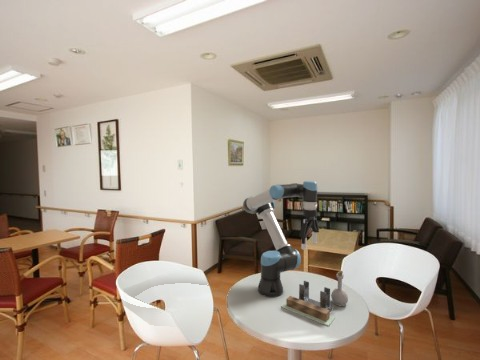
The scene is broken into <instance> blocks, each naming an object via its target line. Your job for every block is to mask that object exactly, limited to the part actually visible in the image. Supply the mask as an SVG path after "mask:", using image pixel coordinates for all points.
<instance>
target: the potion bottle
mask: <svg viewBox="0 0 480 360" xmlns="http://www.w3.org/2000/svg"><path fill="white" fill-rule="evenodd" d="M343 273H344V272H343V270H339V271H337V273H336V278H337V287H336V288H334V289H333V290H332V292H331V293H330V299H331V300H332V303H333V304H334V305H335V306H337V307H345V306H346V305H347V304H348V301H349V297H348V293H347V291H346V290H345V289H343V279H344V274H343Z"/></svg>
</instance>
